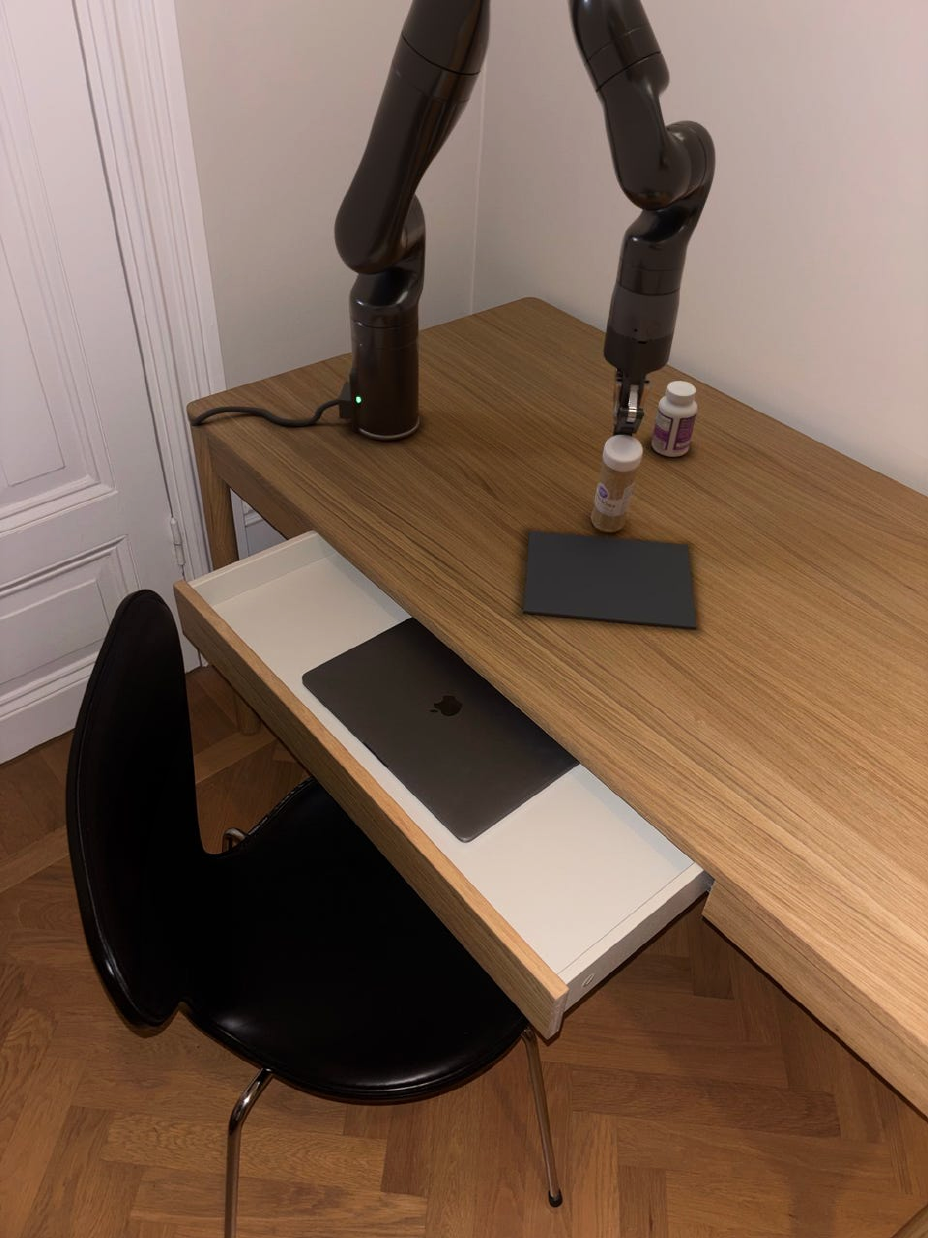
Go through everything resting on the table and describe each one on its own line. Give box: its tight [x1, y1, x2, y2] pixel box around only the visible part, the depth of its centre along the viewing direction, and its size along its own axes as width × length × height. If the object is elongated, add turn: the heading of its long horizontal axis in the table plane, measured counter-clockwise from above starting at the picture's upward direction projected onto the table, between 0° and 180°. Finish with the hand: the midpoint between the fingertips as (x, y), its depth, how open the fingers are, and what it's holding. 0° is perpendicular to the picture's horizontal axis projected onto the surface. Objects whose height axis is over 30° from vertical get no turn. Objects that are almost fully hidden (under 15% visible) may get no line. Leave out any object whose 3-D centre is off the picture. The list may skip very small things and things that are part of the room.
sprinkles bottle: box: [590, 435, 644, 533], centre depth 117 cm, size 5×5×14 cm
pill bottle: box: [651, 380, 698, 458], centre depth 133 cm, size 5×5×10 cm
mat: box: [522, 530, 697, 630], centre depth 115 cm, size 20×15×1 cm
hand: (619, 450), depth 118 cm, fingers closed
